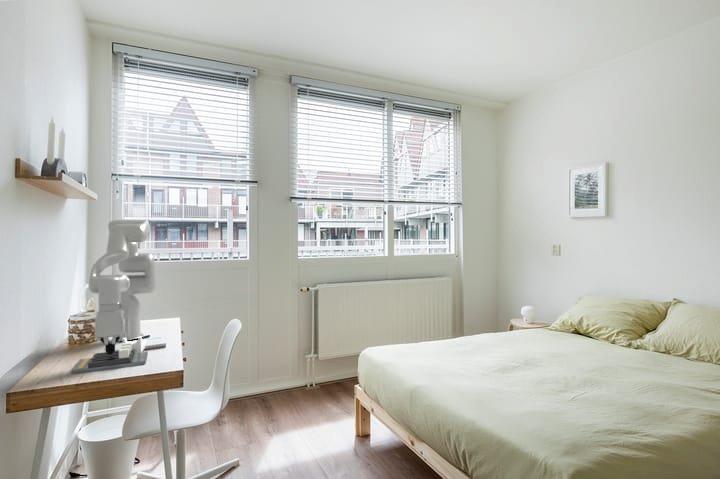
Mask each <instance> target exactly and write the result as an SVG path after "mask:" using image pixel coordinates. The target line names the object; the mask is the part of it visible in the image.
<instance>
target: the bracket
mask: <svg viewBox="0 0 720 479" xmlns="http://www.w3.org/2000/svg"><path fill="white" fill-rule="evenodd" d="M128 342H132V349H134V353H137V352H144V350H145V349H146V347H147V346H146V344H147V345H148V339H143V338H142V336H139V337H138V340H133V341H127V340H126V337H125V338H122V342H121V345H122V344H123V343H128ZM145 346H146V347H145Z"/></svg>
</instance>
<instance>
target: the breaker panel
mask: <svg viewBox="0 0 720 479" xmlns="http://www.w3.org/2000/svg"><path fill="white" fill-rule="evenodd" d="M148 356H149V351H142V352H137V353H134V349H132V350H131V352H130V354H129V357H128V358H120V359H119V350H115V352H113V354H112V355H111V354H109V355H108V352H106V351H104V352H98V353H97V352H95V353H94V354H93V356H91V358H90V357H87V358H82V359H81V358H80V359H79V360H78V362H77V363H76V364H75V365H74V366H73V367H72V370H71V374H81V373H87V372H97V371H104V370H111V369H112V370H113V369H118V368H119V369H121V368H127V367H135V366H143V365H146V363H147V358H148Z"/></svg>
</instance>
